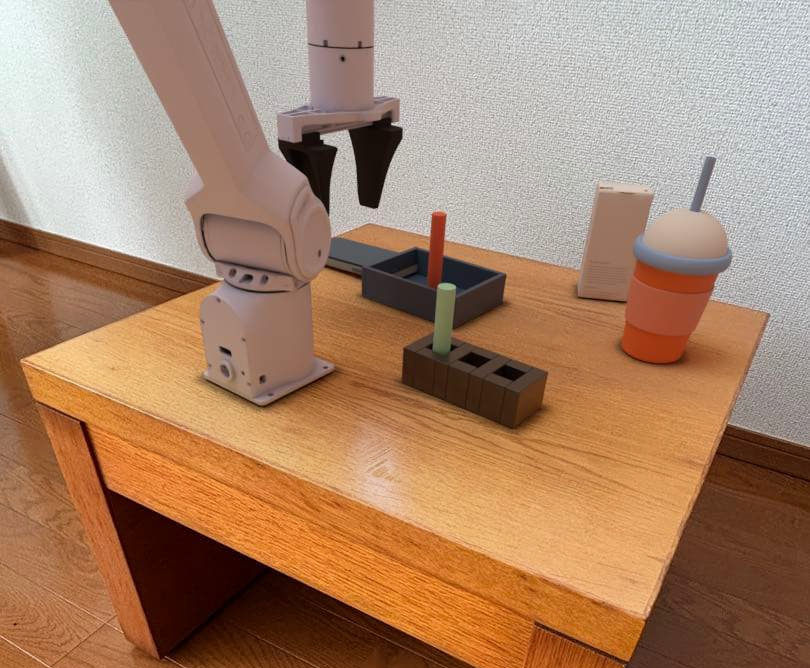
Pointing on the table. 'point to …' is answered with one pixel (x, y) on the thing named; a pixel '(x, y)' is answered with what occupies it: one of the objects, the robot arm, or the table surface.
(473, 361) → the straw rack
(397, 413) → the table surface
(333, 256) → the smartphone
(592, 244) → the cosmetic box
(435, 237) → the red rod
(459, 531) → the table surface
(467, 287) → the bin
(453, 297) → the green rod
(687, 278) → the cup with straw
